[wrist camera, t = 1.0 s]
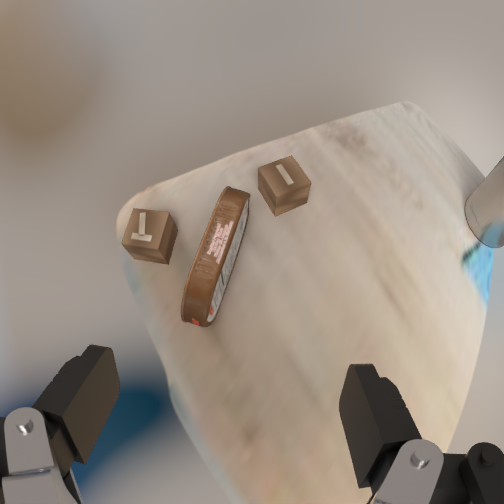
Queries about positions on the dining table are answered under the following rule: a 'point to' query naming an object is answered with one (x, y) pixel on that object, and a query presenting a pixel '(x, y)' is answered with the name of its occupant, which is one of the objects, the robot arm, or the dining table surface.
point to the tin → (215, 258)
